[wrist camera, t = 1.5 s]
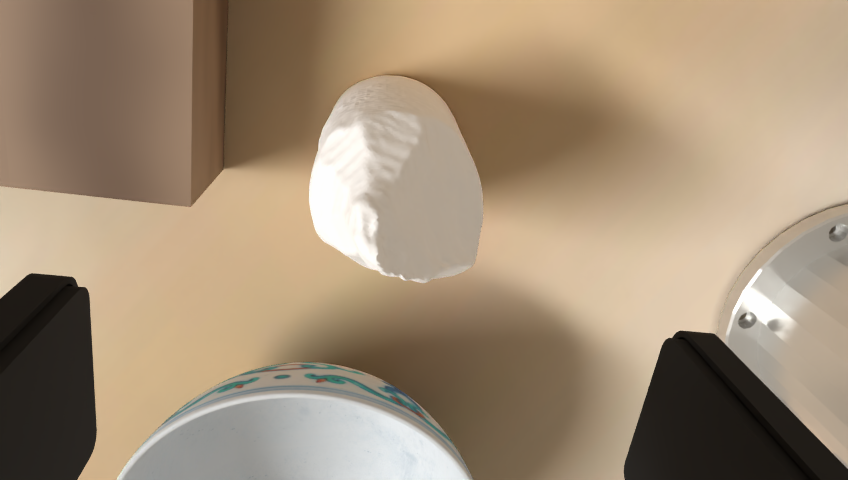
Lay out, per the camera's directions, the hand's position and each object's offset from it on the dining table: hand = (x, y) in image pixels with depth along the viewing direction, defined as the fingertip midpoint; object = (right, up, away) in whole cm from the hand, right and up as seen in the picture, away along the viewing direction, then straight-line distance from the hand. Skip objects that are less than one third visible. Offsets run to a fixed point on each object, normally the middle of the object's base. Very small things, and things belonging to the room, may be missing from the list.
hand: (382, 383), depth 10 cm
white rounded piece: (-1, +7, +17) cm, 18 cm away
